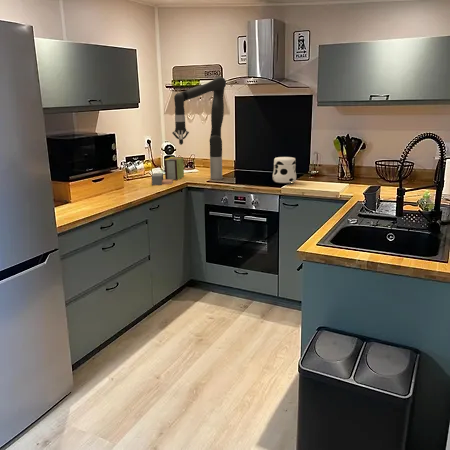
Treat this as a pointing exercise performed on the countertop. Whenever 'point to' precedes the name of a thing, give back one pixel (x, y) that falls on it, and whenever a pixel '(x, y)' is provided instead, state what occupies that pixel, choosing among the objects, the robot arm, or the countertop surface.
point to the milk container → (284, 170)
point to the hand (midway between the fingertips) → (181, 144)
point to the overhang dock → (157, 178)
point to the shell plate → (167, 181)
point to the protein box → (174, 168)
